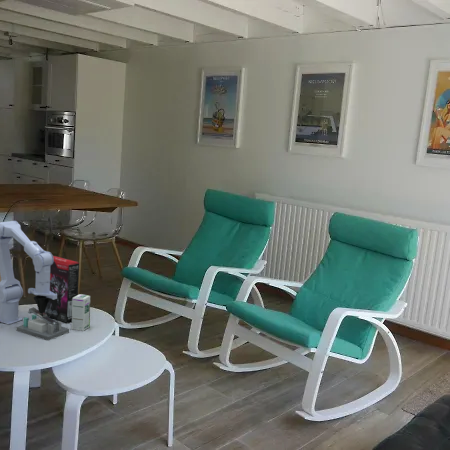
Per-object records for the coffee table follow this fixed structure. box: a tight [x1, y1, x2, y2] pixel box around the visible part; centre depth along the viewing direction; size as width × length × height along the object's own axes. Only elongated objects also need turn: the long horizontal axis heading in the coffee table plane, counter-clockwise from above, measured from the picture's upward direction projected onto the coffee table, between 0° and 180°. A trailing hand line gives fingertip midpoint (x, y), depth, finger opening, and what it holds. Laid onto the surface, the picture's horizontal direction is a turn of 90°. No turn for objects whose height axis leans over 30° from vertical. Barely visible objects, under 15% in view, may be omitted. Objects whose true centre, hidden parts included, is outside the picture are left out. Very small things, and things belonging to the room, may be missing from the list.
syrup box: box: [71, 293, 91, 332], centre depth 228 cm, size 6×6×14 cm
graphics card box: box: [44, 255, 80, 323], centre depth 238 cm, size 17×7×27 cm, turn 58°
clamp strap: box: [27, 307, 58, 326], centre depth 220 cm, size 15×3×2 cm, turn 63°
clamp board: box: [15, 314, 70, 341], centre depth 222 cm, size 18×12×5 cm, turn 63°
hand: (42, 312), depth 220 cm, fingers closed
